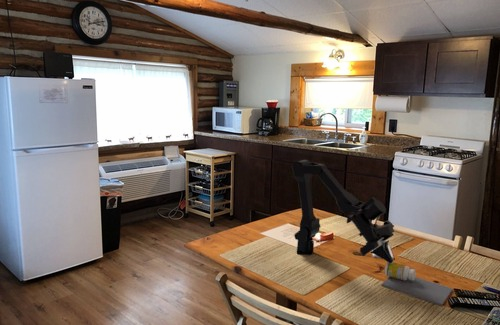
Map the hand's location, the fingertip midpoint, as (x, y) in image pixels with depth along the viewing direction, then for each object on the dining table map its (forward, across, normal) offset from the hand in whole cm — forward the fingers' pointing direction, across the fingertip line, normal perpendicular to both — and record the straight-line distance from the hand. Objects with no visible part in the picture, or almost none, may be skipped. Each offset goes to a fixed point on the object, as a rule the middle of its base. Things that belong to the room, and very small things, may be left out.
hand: (391, 262), depth 142 cm
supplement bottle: (+1, +1, +4) cm, 4 cm away
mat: (+11, 0, -2) cm, 12 cm away
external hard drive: (-3, +22, +14) cm, 26 cm away
